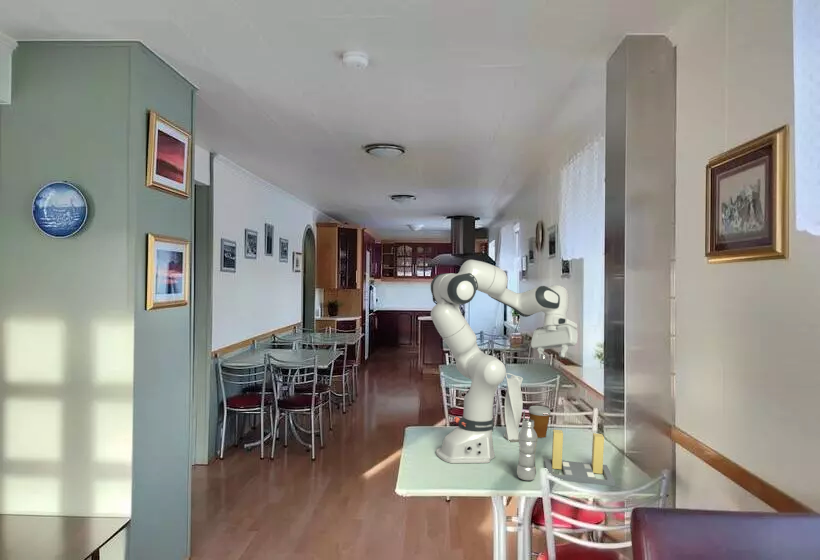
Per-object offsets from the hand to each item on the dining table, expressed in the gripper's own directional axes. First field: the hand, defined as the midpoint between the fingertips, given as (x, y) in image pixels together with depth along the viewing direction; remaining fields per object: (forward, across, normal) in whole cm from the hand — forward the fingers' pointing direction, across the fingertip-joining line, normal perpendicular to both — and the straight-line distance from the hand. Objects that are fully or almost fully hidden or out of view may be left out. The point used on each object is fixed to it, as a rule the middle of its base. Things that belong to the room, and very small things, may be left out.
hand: (551, 358), depth 207 cm
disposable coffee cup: (+24, -26, +27) cm, 45 cm away
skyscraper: (+29, -28, +14) cm, 43 cm away
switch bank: (+41, +10, +9) cm, 43 cm away
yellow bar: (+38, +12, +16) cm, 43 cm away
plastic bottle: (+47, +3, -10) cm, 48 cm away
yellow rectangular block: (+40, +2, +6) cm, 40 cm away
